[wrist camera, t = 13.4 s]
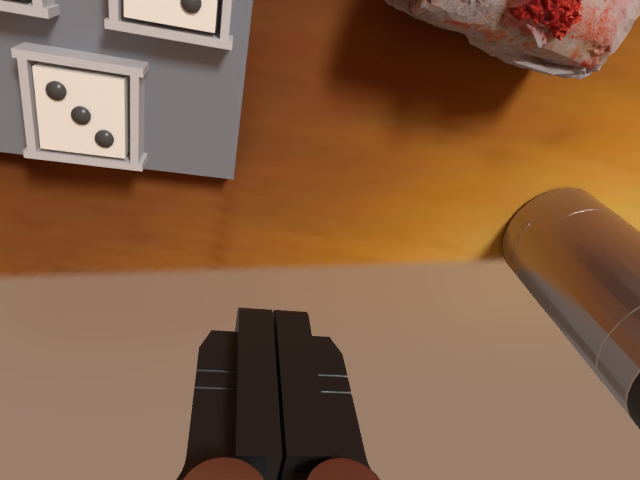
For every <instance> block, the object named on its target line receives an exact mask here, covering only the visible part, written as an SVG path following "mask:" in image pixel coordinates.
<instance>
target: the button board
mask: <svg viewBox="0 0 640 480" xmlns="http://www.w3.org/2000/svg"><path fill="white" fill-rule="evenodd" d="M252 4H253V0H219V4H218V16H217V28H216V31H215V33H211V32H206V31H200V30H194V29H189V28H183V27H177V26H172V25H166V24H161V23H155V22H149V21H144V20H138V19H132V18H127V17H124V0H0V152H5V153H14V154H22V155H24V158H31V159H39V160H48V161H56V162H65V163H73V164H82V165H90V166H99V167H107V168H116V169H124V170H133V171H141V172H142V171H143V169H149V170H157V171H166V172H174V173H182V174H191V175H199V176H208V177H216V178H225V179H234V170H235V161H236V151H237V142H238V133H239V124H240V115H241V105H242V96H243V87H244V78H245V69H246V59H247V50H248V41H249V32H250V23H251V14H252ZM38 62H45V63H52V64H58V65H65V66H71V67H78V68H84V69H90V70H97V71H103V72H110V73H116V74H123V75H129V76H130V151H129V153H128V154H127V156H126V158H125V159H123V158H115V157H107V156H99V155H90V154H82V153H74V152H66V151H58V150H49V149H41V148H40V139H39V129H38V119H37V109H36V99H35V89H34V79H33V69H32V66H33V65H35V64H37V63H38Z"/></svg>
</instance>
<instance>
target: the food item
mask: <svg viewBox="0 0 640 480" xmlns="http://www.w3.org/2000/svg"><path fill="white" fill-rule="evenodd" d="M385 2H386V3H387V4H388V5H389V6H393V7H395V9H397V10H400V11H403V12H405V13H407V14H408V15H410V16H412V17H414V18H416V19H418V20H421V21H425V22H427V23H429V24H432V25H433V26H435V27H439V28H443V29H447V30H450V31H457V32H460V33H463V34H464V35H465V36H466V37H467V38H468V41H469V44H471V45H474V46H475V47H477V48H479V49H481V50H483V51H484V52H486V53H487V54H488V55H490V56H495V57H498V58H499V59H501V60H502V61H503V62H505V63H507V64H511V65H514V66H517V67H520V68H525V69H526V68H528V69H530V70H533V71H536V72H540V73H545V74H548V75H556V76H559V77H562V78H571V77H576V78H577V79H582V78H585V77H587V76H589V75H591V73H592V72H595V71H599V70H600V68H601V66H602V65H603V64H604V63H606V60H607V58H608V57H609V56H610V55H611V54H612V53H614V52H615V51H616V50H617V48H618V47H619V45H620V44H621V43H622V41H623V40H624V39H625V37H626V36H627V34H628V33H629V31H630V30H631V29H632V27H633V25H634V23H635V21H636V19H637V17H638V16H639V15H640V0H385Z"/></svg>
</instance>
